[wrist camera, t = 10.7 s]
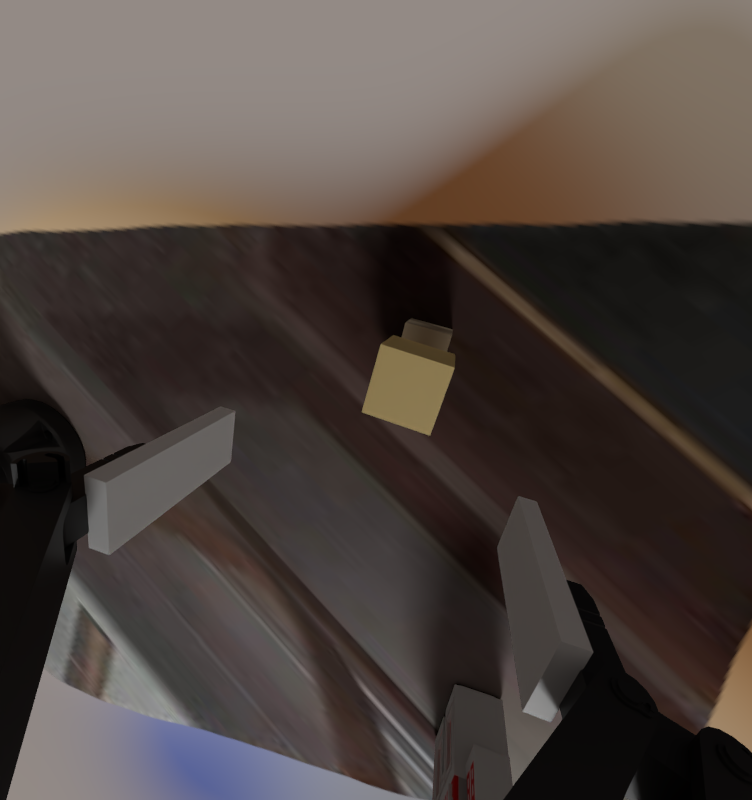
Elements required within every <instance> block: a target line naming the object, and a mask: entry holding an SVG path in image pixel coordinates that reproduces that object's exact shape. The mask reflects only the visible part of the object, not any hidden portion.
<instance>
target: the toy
mask: <svg viewBox="0 0 752 800" xmlns="http://www.w3.org/2000/svg"><path fill="white" fill-rule="evenodd" d="M512 787H513V785H512V776H511V767H510V758H509V756H508V747H507V738H506V729H505V720H504V711H503V701H502V700H500V699H497V698H495V697H494V696H491V695H488V694H485V693H482V692H479V691H476V690H473V689H470V688H467V687H464V686H461V685H460V686H459V685H456V684H455V685H454V688H453V691H452V693H451V696H450V699H449V702H448V705H447V708H446V714H445V717H443V720H442V722H441V725H440V728H439V731H438V734H437V737H436V740H435V755H434V776H433V797H432V800H503V799H504V798H505V796H506V795H507V794H508V792H509V791H510V790H511V788H512Z"/></svg>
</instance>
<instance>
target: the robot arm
mask: <svg viewBox="0 0 752 800" xmlns="http://www.w3.org/2000/svg"><path fill="white" fill-rule="evenodd" d="M234 421H235V411H234V410H230V409H227V408H224V407H219V408H217V409H215V410H213V411H211V412H209V413H207V414H205V415H203V416H201V417H199V418H197V419H195V420H193V421H191V422H189V423H187V424H185V425H183V426H181V427H179V428H177V429H175V430H173V431H171V432H169V433H167V434H165V435H163V436H161V437H159V438H157V439H155V440H153V441H151V442H149V443H147V444H145V443H140V444H136V445H132V446H128V447H126V448H124V449H122V450H119V451H117V452H115V453H114V455H113V454H111V455H109V456H107V457H105V458H104V459H103V460H102V459H101V460H99V461H97V462H95V463H92V464H90V465H88V466H86V467H85V456H84V451H83V448H82V445H81V443H80V440H79V438H78V436H77V435H76V433H75V431H74V430H73V428H72V427H71V426H70V424H69V423H68V422H67V421H66V420H65V419H64V418H63V417H62V416H61V415H60V414H59V413H58V412H57V411H55V410H54V409H52V408H51V407H49V406H47V405H46V404H43V403H41V402H38V401H35V400H29V399H25V400H19V401H15V402H11V403H7V404H3V405H1V406H0V800H6V798H7V795H8V791H9V788H10V784H11V781H12V777H13V774H14V770H15V767H16V763H17V759H18V756H19V752H20V749H21V745H22V742H23V738H24V734H25V731H26V728H27V724H28V721H29V717H30V713H31V710H32V707H33V703H34V699H35V696H36V692H37V689H38V685H39V682H40V678H41V675H42V671H43V668H44V664H45V661H46V657H47V654H48V650H49V646H50V643H51V639H52V636H53V632H54V629H55V625H56V622H57V618H58V615H59V611H60V608H61V604H62V601H63V597H64V593H65V590H66V586H67V583H68V579H69V576H70V572H71V569H72V565H73V562H74V558H75V555H76V551H77V542H76V540H78V539H79V538H81V537H82V536H84V535H85V534H87V533H88V542H89V548H91V549H94V550H97V551H99V552H102V553H104V554H107V555H110V554H112V553H113V552H114V551H115V550H117V549H118V548H119V547H121V546H122V545H123V544H125V543H126V542H127V541H129V540H130V539H131V538H132V537H134V536H135V535H136V534H138V533H139V532H140V531H142V530H143V529H144V528H145V527H147V526H148V525H149V524H151V523H152V522H153V521H155V520H156V519H157V518H158V517H160V516H161V515H162V514H164V513H165V512H166V511H168V510H169V509H170V508H171V507H173V506H174V505H175V504H177V503H178V502H179V501H181V500H182V499H183V498H184V497H186V496H187V495H188V494H190V493H191V492H192V491H194V490H195V489H196V488H197V487H199V486H200V485H201V484H203V483H204V482H205V481H207V480H208V479H209V478H210V477H212V476H213V475H214V474H216V473H217V472H218V471H220V470H221V469H222V468H223V467H225V466H226V465H227V464H229V463H230V462H231V454H232V443H233V432H234ZM497 551H498V558H499V564H500V571H501V577H502V583H503V590H504V596H505V603H506V609H507V615H508V622H509V628H510V635H511V641H512V648H513V654H514V660H515V667H516V673H517V680H518V686H519V692H520V699H521V705H522V712H525V713H528V714H530V715H533V716H536V717H538V718H541V719H544V720H546V721H549V722H552V720H553V718H554V717H555V715H556V713H557V712H558V710H559V708H560V711H561V715H562V719H563V720H562V721H561V722H560V724H559V725H558V726H557V728H556V729H555V730H554V732H553V733H552V734H551V736H550V737H549V739H548V740H547V741H546V743H545V744H544V745H543V747H542V748H541V749H540V751H539V752H538V753H537V755H536V756H535V757H534V759H533V760H532V761H531V763H530V764H529V765H528V767H527V768H526V769H525V771H524V772H523V774H522V775H521V776H520V778H519V779H518V780H517V782H516V783H515V784H514V786H513V787H512V788H511V790H510V791H509V792H508V794H507V795H506V796H505V798H504V799H503V800H623V799H624V797H626V798H627V799H629V800H752V753H751V752H750V751H749V749H748V748H746V747H745V746H744V745H743V744H741V743H740V742H739V741H737V740H736V739H735V738H734V737H732V736H730V735H729V734H727V733H725V732H723V731H721V730H720V729H716V728H712V727H706V728H703V729H701V730H700V731H699V733H698V734H697V735H694V734H693V733H691V732H689V731H688V730H686V729H685V728H683V727H681V726H680V725H678V724H677V723H675V722H673V721H672V720H670V719H669V718H667V717H665V716H664V715H663V714H661V713H660V712H658V709H657V706H656V704H655V702H654V700H653V699H652V697H651V696H650V695H649V693H648V692H647V690H646V689H645V688H644V687H643V686H642V685H641V684H640V683H639V682H638V681H637V680H635V679H634V678H633V677H631V676H630V675H628V674H627V673H626V672H625V670H624V668H623V665H622V663H621V661H620V659H619V656H618V654H617V652H616V650H615V647H614V645H613V643H612V640H611V638H610V636H609V634H608V631H607V629H605V625H604V622H603V620H602V618H601V617H600V613H599V611H598V609H597V606H596V604H595V602H594V600H593V598H592V597H591V596H590V595H589V593H588V592H587V591H586V590H585V588H584V587H583V586H582V585H581V584H578V583H575V582H571V581H568V580H566V578H565V576H564V573H563V570H562V568H561V565H560V562H559V560H558V557H557V554H556V552H555V549H554V546H553V544H552V541H551V538H550V536H549V533H548V530H547V528H546V525H545V522H544V520H543V517H542V514H541V512H540V509H539V506H538V504H537V502H536V501H533V500H529V499H526V498H523V497H520V496H518V498H517V500H516V503H515V505H514V508H513V510H512V512H511V515H510V517H509V520H508V522H507V524H506V527H505V529H504V532H503V534H502V536H501V539H500V541H499V544H498V546H497Z"/></svg>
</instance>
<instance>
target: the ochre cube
mask: <svg viewBox="0 0 752 800" xmlns="http://www.w3.org/2000/svg"><path fill="white" fill-rule="evenodd" d="M454 368H455V354H452V353H449V352H446V351H443V350H440V349H436V348H433V347H430V346H427V345H424V344H420V343H417V342H414V341H411V340H408V339H405V338H401V337H398V336H395V335H393V336H391V337H390V338H389V339H387V340H386V341H385V342H383V343H382V344H381V346H380V349H379V353H378V356H377V360H376V363H375V367H374V371H373V374H372V378H371V381H370V385H369V388H368V392H367V395H366V399H365V402H364V406H363V410H362V412H363V413H365V414H368V415H371V416H374V417H377V418H380V419H383V420H386V421H389V422H392V423H395V424H398V425H400V426H403V427H406V428H409V429H412V430H415V431H418V432H421V433H424V434H427V435H430V434H431V432H432V429H433V426H434V423H435V421H436V418H437V415H438V412H439V410H440V407H441V404H442V401H443V399H444V396H445V393H446V390H447V388H448V385H449V382H450V379H451V376H452V374H453V371H454Z"/></svg>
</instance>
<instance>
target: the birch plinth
mask: <svg viewBox="0 0 752 800" xmlns="http://www.w3.org/2000/svg"><path fill="white" fill-rule="evenodd" d="M452 330H453V329H449V328H446V327H442V326H438V325H435V324H431V323H427V322H424V321H420V320H416V319H413V318H411V319H410V320H408V321H407V322H406V323H405V326H404V330H403V334H402V338H405V339H408V340H411V341H414V342H417V343H420V344H424V345H427V346H430V347H433V348H436V349H440V350H443V351H446V352H447V349H448V346H449V343H450V340H451V337H452Z"/></svg>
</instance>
